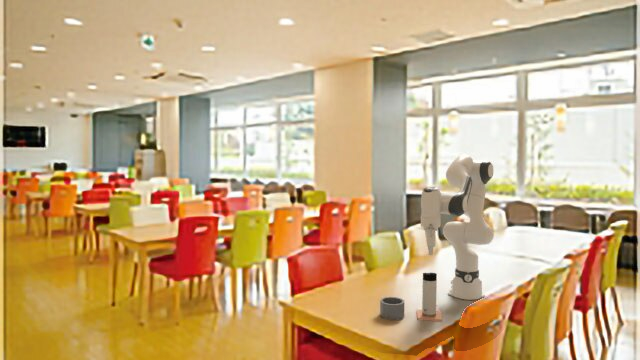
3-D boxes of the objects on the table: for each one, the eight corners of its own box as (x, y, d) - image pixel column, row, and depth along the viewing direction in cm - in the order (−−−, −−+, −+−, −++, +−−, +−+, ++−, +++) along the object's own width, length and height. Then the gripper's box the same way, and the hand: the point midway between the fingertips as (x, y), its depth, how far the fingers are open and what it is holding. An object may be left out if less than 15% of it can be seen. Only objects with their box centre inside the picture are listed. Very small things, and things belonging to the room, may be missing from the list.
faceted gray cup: (381, 310, 221) (381, 296, 220) (404, 312, 219) (404, 297, 218) (379, 318, 210) (379, 304, 210) (403, 320, 208) (404, 305, 207)
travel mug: (424, 317, 209) (425, 274, 208) (420, 312, 216) (421, 270, 214) (438, 317, 210) (438, 274, 208) (433, 311, 216) (434, 270, 215)
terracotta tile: (417, 311, 220) (417, 309, 220) (441, 312, 218) (441, 311, 217) (417, 319, 209) (417, 317, 209) (442, 321, 207) (442, 319, 207)
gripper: (438, 226, 199) (438, 258, 200) (436, 219, 219) (436, 247, 220) (423, 226, 200) (423, 257, 202) (423, 218, 220) (422, 247, 222)
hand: (430, 252), depth 211 cm, fingers open, 8 cm apart
